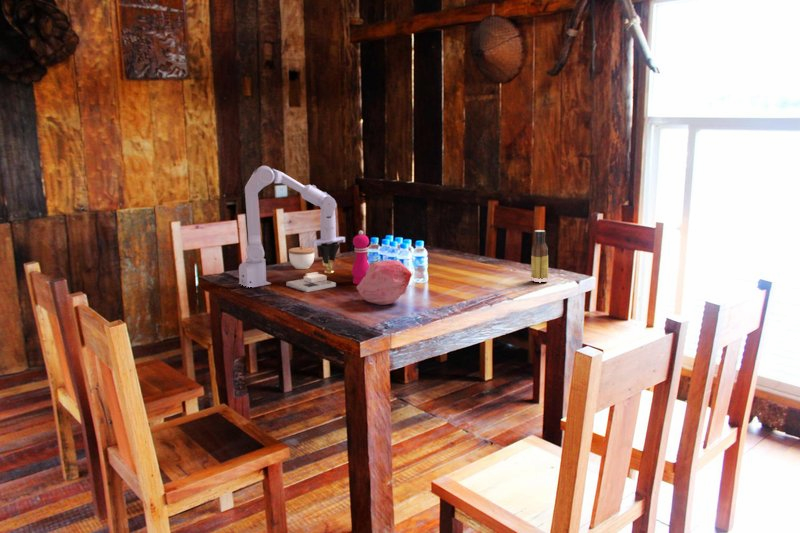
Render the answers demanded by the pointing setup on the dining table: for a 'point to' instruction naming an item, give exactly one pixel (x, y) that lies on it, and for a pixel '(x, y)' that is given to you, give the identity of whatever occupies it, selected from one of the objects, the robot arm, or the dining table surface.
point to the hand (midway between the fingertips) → (328, 262)
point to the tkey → (329, 266)
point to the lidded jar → (301, 257)
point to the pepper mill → (360, 257)
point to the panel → (310, 285)
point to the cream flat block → (314, 277)
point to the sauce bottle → (539, 256)
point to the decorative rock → (384, 282)
